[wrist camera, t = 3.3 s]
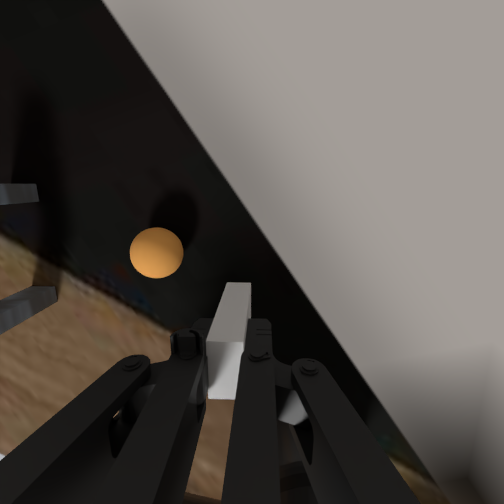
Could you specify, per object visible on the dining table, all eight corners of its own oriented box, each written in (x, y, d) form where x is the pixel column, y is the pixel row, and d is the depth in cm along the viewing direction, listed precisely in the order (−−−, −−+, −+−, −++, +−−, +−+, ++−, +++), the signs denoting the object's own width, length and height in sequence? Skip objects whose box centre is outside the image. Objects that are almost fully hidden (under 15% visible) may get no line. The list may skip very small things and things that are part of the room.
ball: (187, 224, 32) (172, 232, 27) (190, 269, 34) (176, 286, 28) (140, 223, 32) (116, 232, 27) (145, 268, 34) (123, 285, 28)
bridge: (35, 183, 32) (-53, 184, 23) (57, 301, 35) (-12, 341, 26) (10, 183, 32) (-88, 184, 23) (34, 300, 36) (-43, 340, 27)
